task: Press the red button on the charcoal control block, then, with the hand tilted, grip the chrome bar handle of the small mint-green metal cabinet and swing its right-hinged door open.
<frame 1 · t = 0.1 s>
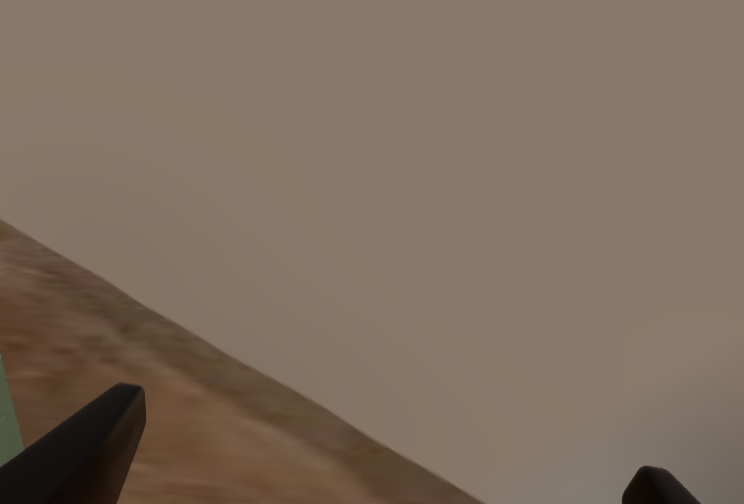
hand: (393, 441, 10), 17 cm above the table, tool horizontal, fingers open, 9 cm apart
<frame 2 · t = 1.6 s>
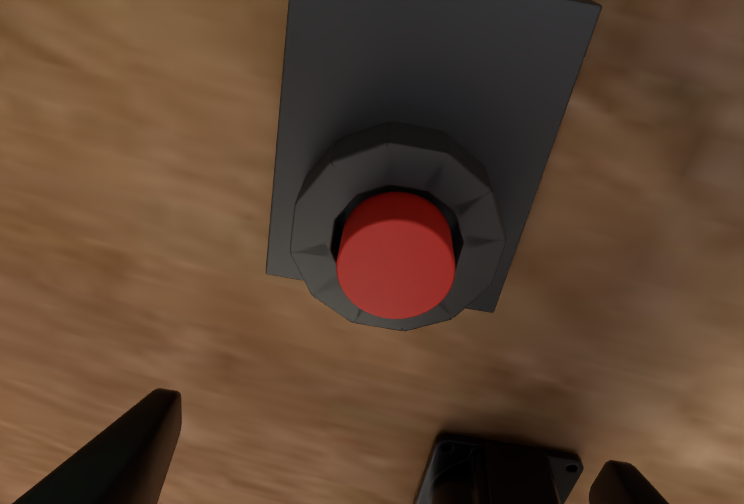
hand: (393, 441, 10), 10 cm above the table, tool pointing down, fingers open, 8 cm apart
release button: (395, 255, 16), point 3 cm above the table, slide at 0.1 cm
button block: (409, 145, 18), on the table
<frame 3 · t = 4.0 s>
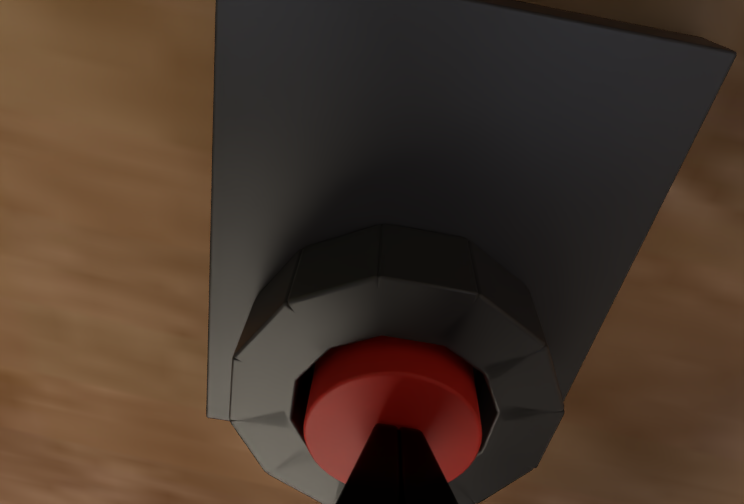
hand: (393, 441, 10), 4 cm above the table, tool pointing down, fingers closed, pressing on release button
release button: (392, 403, 11), point 3 cm above the table, slide at -0.7 cm, touching gripper
button block: (412, 244, 12), on the table
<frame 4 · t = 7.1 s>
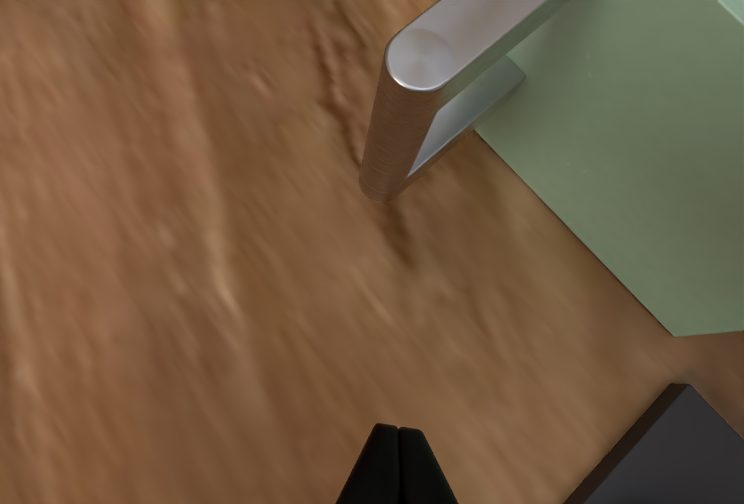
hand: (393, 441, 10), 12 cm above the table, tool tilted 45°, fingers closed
cabinet door: (569, 219, 18), point 6 cm above the table, hinge at 0.0°
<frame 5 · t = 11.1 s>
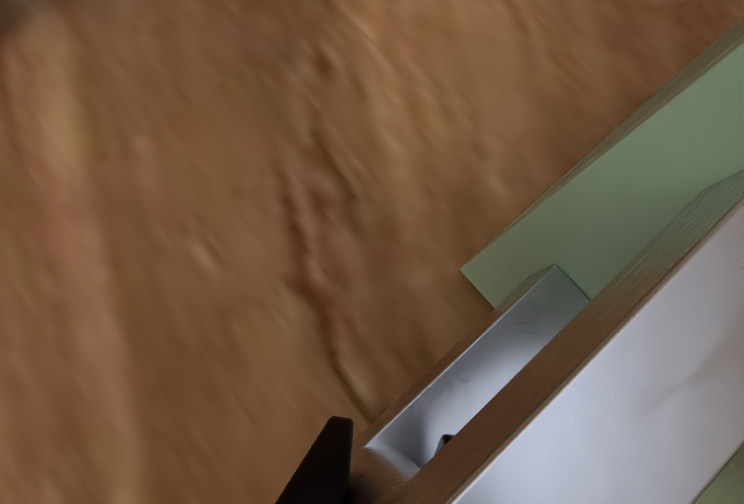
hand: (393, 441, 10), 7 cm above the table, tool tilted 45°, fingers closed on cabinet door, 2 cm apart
cabinet: (728, 328, 18), on the table
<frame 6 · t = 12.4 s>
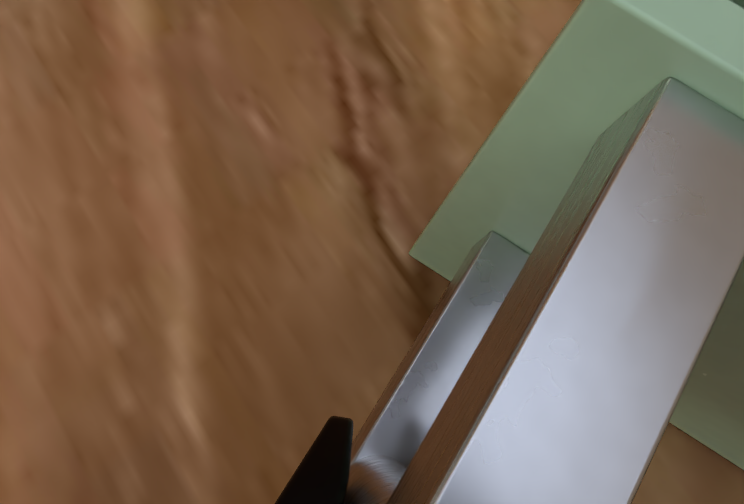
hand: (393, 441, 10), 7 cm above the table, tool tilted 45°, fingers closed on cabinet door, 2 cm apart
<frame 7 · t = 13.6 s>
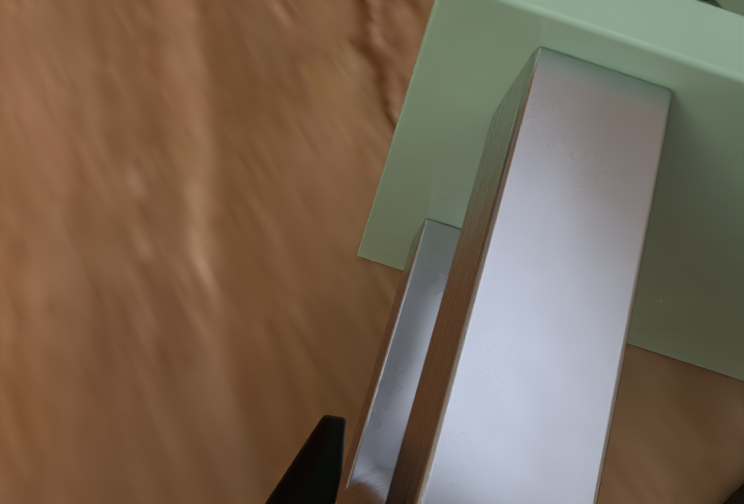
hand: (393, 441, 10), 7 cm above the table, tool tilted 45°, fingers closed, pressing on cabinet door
cabinet door: (685, 441, 11), point 6 cm above the table, hinge at 37.0°, touching gripper
cabinet: (742, 130, 20), on the table
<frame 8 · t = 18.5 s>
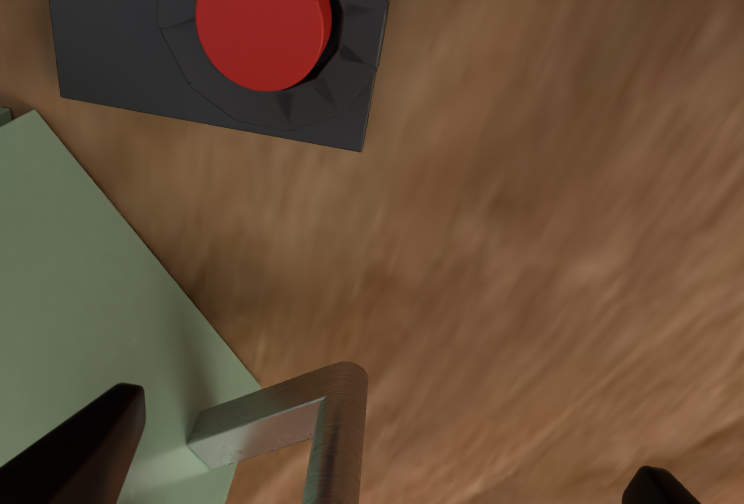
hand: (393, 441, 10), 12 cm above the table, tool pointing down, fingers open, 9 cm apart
release button: (266, 21, 14), point 3 cm above the table, slide at 0.1 cm
cabinet door: (167, 342, 17), point 6 cm above the table, hinge at 37.0°
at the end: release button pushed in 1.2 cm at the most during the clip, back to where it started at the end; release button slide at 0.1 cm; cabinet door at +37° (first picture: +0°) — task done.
